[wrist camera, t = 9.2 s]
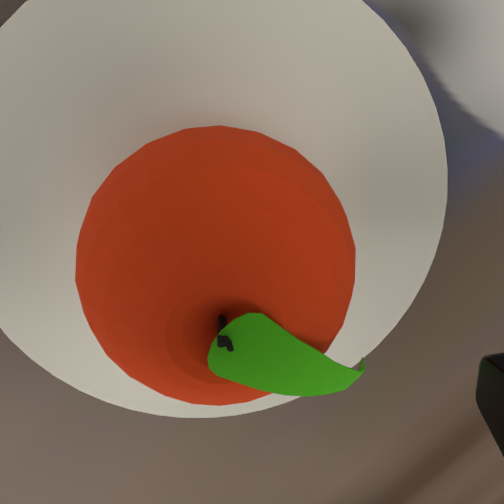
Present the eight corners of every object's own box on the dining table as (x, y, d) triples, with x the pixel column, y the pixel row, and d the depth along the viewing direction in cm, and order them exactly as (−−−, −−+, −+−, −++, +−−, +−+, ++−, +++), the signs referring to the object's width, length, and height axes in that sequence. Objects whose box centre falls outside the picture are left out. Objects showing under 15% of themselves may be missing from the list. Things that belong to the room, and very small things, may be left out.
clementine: (385, 199, 16) (518, 311, 9) (269, 351, 18) (311, 530, 11) (172, 57, 13) (149, 75, 7) (65, 252, 15) (-31, 409, 9)
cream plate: (452, -78, 13) (470, -87, 13) (420, 370, 20) (431, 385, 19) (-130, -25, 12) (-155, -31, 12) (40, 427, 19) (32, 446, 18)
